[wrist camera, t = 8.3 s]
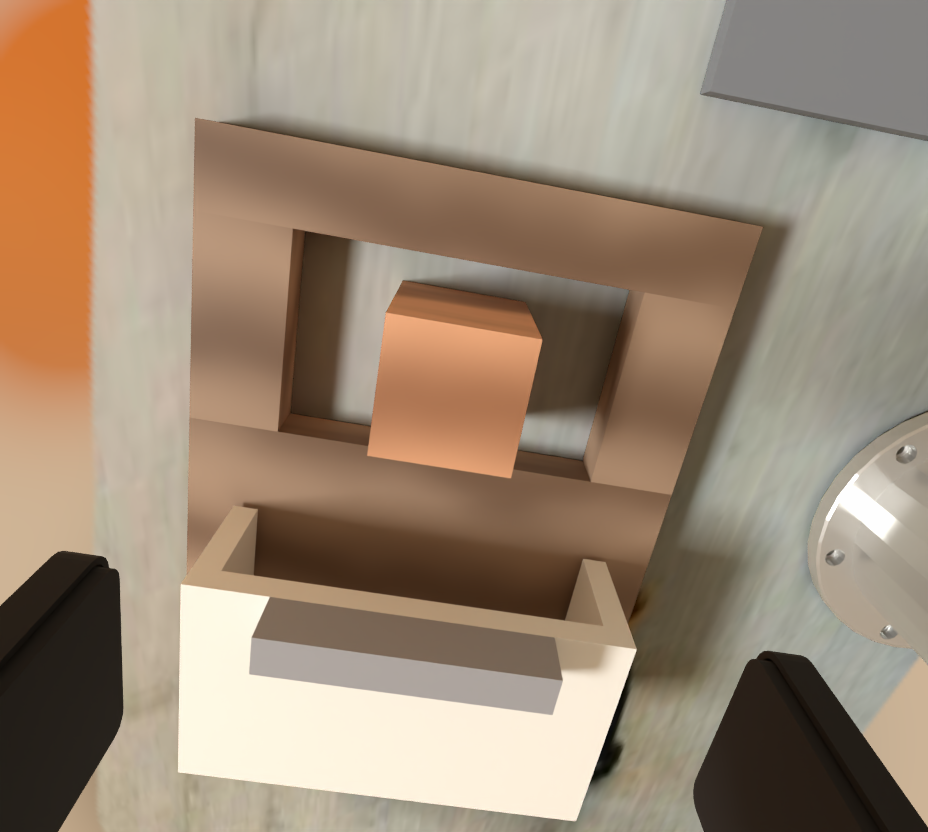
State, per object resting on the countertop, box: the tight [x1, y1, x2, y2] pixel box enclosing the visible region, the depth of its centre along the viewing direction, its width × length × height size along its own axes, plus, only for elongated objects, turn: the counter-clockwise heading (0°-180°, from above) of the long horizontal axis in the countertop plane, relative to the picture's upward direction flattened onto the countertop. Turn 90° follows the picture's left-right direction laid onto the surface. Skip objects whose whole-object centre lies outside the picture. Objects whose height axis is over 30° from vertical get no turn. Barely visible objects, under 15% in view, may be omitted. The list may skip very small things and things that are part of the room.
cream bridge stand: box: [178, 506, 637, 821], centre depth 25 cm, size 9×16×7 cm, turn 80°
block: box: [367, 281, 543, 478], centre depth 23 cm, size 5×5×6 cm
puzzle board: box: [187, 118, 763, 623], centre depth 27 cm, size 23×20×2 cm
